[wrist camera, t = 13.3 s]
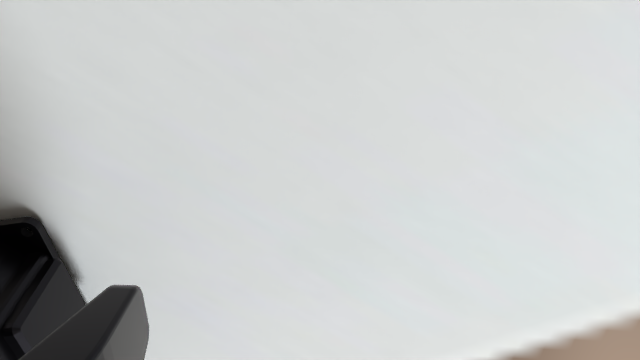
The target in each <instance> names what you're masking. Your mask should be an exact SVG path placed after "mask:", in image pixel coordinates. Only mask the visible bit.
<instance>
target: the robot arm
mask: <svg viewBox="0 0 640 360" xmlns="http://www.w3.org/2000/svg"><path fill="white" fill-rule="evenodd" d="M26 227H28V228H30V229H31V230H32V231H29V230H27V229H26ZM148 339H149V324H148V319H147V313H146V308H145V303H144V298H143V293H142V291H141V289H140V287H138V286H136V285H112V286H110V287H108V288H107V289H105V290H104V291H103V292H102V293H100V294H99V295H98V296H97V297H95V298H94V299H93V300H92V301H90V302H89V303H88V304H87V305H85V304H84V301H83V299H82V297H81V295H80V293H79V291H78V290H77V288H76V286H75V284H74V282H73V280H72V278H71V276H70V275H69V273H68V271H67V269H66V267H65V265H64V263H63V262H62V261H61V259H60V257H59V255H58V253H57V251H56V249H55V248H54V246H53V244H52V242H51V240H50V238H49V236H48V234H47V233H46V231H45V229H44V227H43V225H42V224H41V223H40V221H38V220H37V219H35V218H32V217H21V218H14V219H7V220H1V221H0V360H144V358H145V353H146V349H147V344H148Z"/></svg>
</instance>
